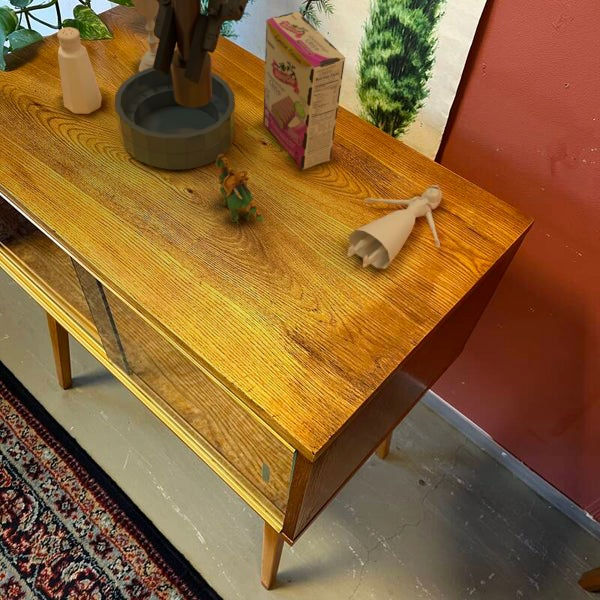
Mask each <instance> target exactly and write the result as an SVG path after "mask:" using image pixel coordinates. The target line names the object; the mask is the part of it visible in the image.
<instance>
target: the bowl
mask: <svg viewBox="0 0 600 600" xmlns="http://www.w3.org/2000/svg"><path fill="white" fill-rule="evenodd" d="M211 79H212V99H211V101H210V102H209V103H208V104H206V105H204V106H202V107H197V108H189V107H185V106H182V105H180V104H178V103H177V102H176V101H175V99H174V93H173V81H172V70H171V67H170V71H169V75H168V76H167V75H163V74H161V73H159V72H158V71H156V70H155V69H153V67H152V68H148V69H145V70H143V71H141V72H139V71H138V72H137V73H134V74H132V75H131V76H129V77H128V78H127V79H125V80H124V81H123V82H122V83H121V84H120V86H119V87H118V89H117V90H116V92H115V94H114V106H113V107H114V112H115V117H116V123H117V129H118V136H119V139H120V141H121V143H122V145H123V146H122V147H123V148H124V150H125V151H126V152H128V153H129V154H130V155H131V157H132V158H134V159H136V160H137V161H139V162H141V163H144V164H146V165H148V166H151V167H154V168H155V167H156V168H160V169H165V170H169V171H171V170H190V169H194V168H199V167H202V166H206V165H209V164H210V163H212V162H214V161H216V160H217V157H218V156H219V155H220V154H223V155H225V154H226V152H227V151H229V149H230V148H231V147H232V144H233V142H234V140H235V137H236V99H235V97H236V96H235V92H234V91H233V90H232V88H231V86H230V84H229V83H228V82H227V81H226V80H225V79H223V78H222V77H221V76H219V75H218V74H217V73H215V72H213V71H211ZM220 157H222V156H220ZM220 157H219V158H220Z"/></svg>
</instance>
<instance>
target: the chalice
mask: <svg viewBox="0 0 600 600" xmlns="http://www.w3.org/2000/svg"><path fill="white" fill-rule="evenodd" d="M130 2H131V3H132V5H133V6H134V8H135V9H136V10H137V12H138V13H139V15H140V16H141V17H145V18H146V25H145V27H144V28H145V30H146V31H147V33H148V36H147V37H146V38H145V40H146V42H147V43H148V44H149V49H148V50H147V51H146V52H144V54H143V55H142V56H141V60H140V64H139V66H138V72H141V71H143V70H145V69H148V68H152V67H153V65H154V60H155V56H156V52H157V48H158V46H157V45H158V44H157V43H158V42H159V39H158V38H157V37H156V36H154V26H155V20H154V19H155V17H157V14H158V9H159V3H158V1H156V0H130Z"/></svg>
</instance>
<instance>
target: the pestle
mask: <svg viewBox="0 0 600 600" xmlns="http://www.w3.org/2000/svg"><path fill="white" fill-rule="evenodd" d="M173 1H174V14H175V27H176V40H177V42H176V49H175V51H174V55H173V59H172V63H171V70H172V81H173V93H174V99H175V101H176V102H177V103H178V104H180V105H182V106H185V107H189V108H197V107H202V106H204V105H206V104H208V103H209V102H210V101H211V99H212V79H211V72H212V57H211V54H210V52H207V51H206V55H205V59H204V63H203V67H202V72H201V76H200V80H199V84H197V83H193V82H191V81H190V80H188V79H187V78H185V77H184V73H185V69H186V65H187V61H188V57H189V53H190V49H191V45H192V41H193V37H194V32H195V28H196V24H197V20H198V16H199V13H200V14H203V13H202V10H203V9H202V0H173Z"/></svg>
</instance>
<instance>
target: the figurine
mask: <svg viewBox="0 0 600 600" xmlns="http://www.w3.org/2000/svg"><path fill="white" fill-rule="evenodd" d="M220 156H221V157H220ZM219 157H220V158H219ZM229 165H230V162H229V160H228V159H227V157H225V154H220V155H219V156H218V157H217V159H216V160H215V166H216V167H219V175H218V179H217V178H214V181H215V182H216V183H217V184H218V185H219V184H220V188H219V191H220V193H221V196H222V197H223V202H222V203H220V206H223V207H225V206H227V207H228V210H229V212H230V213H231V214H232V217H231V218H229V220H230V222H232V223H236V225H239V221H238V219H239V213H238V209H243V208H244V209H245V210H246V212H243V213H241V216H242V217H243V218H245V219H246V221H249V220H250V217H249V216H250V215H251V214H252V215H253V216H254V217H255V218H256V219H257V220H258V221H260V222H261V223H264V222H265V220H264V218H263V217H262V213H261V212H260V210H259V209H257V206H256V203H255V201H254V198H253V196H254V195H255V193H254V192H252V190H251V188H250V187H249V186H248V183H247V182H248V181H249V180H250V175H248V171H247V170H245V169H241V170H238V171H237V172H236V173H234V170H233V168H231V167H228V166H229ZM242 174H243V175H242ZM233 216H234V217H233Z"/></svg>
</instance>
